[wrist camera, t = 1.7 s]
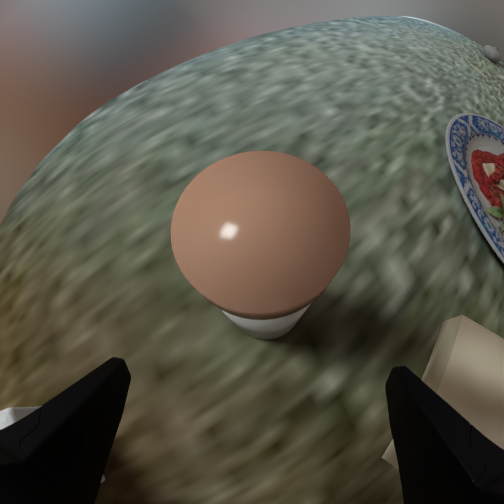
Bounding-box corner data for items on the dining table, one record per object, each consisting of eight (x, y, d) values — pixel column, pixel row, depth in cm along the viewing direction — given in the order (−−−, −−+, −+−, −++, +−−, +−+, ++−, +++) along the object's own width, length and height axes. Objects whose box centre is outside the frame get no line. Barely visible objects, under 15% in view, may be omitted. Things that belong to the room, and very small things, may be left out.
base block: (470, 475, 12) (487, 482, 10) (381, 457, 15) (396, 468, 12) (515, 362, 16) (535, 359, 13) (442, 321, 19) (462, 314, 16)
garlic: (495, 60, 39) (500, 49, 34) (499, 67, 37) (505, 55, 33) (479, 50, 40) (484, 38, 36) (483, 56, 39) (488, 43, 34)
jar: (281, 354, 19) (302, 348, 7) (215, 318, 20) (138, 256, 8) (315, 289, 20) (371, 190, 8) (251, 257, 22) (229, 133, 10)
